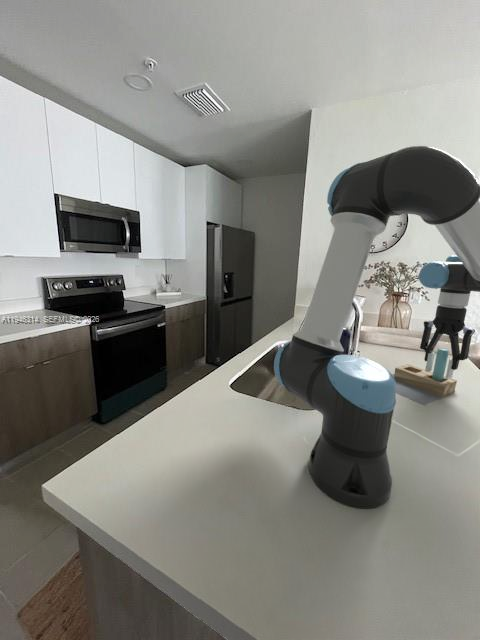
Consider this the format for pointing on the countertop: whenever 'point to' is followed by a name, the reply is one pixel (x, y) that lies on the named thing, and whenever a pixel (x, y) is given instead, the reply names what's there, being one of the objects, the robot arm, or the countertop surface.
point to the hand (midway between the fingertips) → (438, 374)
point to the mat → (415, 393)
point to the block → (424, 380)
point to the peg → (440, 364)
